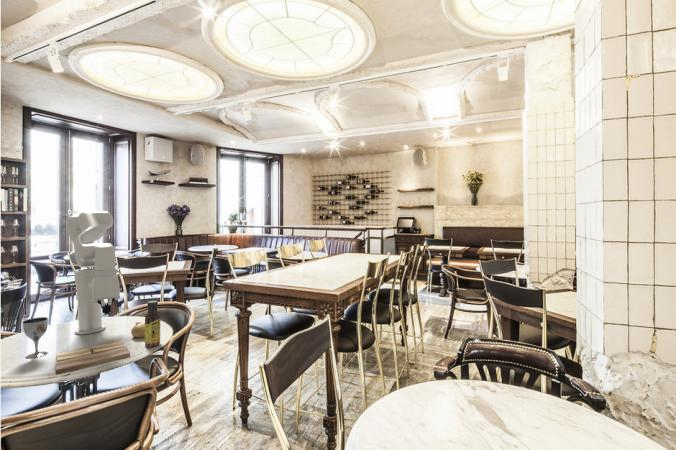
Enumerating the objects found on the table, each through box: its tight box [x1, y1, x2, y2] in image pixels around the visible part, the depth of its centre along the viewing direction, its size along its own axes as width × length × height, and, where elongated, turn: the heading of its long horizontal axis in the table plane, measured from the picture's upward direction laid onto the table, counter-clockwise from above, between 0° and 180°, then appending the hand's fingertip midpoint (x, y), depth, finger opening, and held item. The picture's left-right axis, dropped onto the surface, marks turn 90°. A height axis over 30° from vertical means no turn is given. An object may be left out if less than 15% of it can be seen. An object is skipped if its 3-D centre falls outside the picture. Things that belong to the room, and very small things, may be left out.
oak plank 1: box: [56, 346, 92, 362], centre depth 142 cm, size 10×11×1 cm
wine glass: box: [22, 316, 49, 360], centre depth 143 cm, size 8×8×15 cm
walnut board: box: [54, 346, 131, 375], centre depth 138 cm, size 9×24×1 cm, turn 130°
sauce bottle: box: [144, 300, 161, 348], centre depth 154 cm, size 6×6×20 cm
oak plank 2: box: [91, 340, 126, 354], centre depth 150 cm, size 10×11×1 cm
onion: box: [130, 321, 145, 339], centre depth 165 cm, size 8×8×7 cm
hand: (106, 313), depth 151 cm, fingers closed
